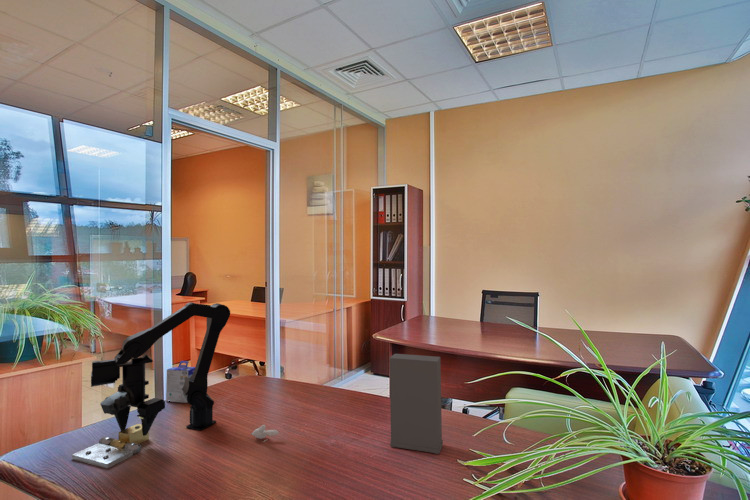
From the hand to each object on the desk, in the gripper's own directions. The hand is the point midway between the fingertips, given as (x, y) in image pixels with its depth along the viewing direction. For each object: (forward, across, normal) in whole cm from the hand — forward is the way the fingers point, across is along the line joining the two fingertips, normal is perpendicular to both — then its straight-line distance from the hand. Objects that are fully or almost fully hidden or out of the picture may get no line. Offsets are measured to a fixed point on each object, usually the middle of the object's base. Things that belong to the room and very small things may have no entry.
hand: (133, 432), depth 112 cm
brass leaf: (+3, 0, -1) cm, 3 cm away
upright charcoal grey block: (+3, +79, +26) cm, 83 cm away
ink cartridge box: (+3, -15, +31) cm, 34 cm away
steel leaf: (+3, 0, -8) cm, 8 cm away
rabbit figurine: (+3, +36, +14) cm, 39 cm away
